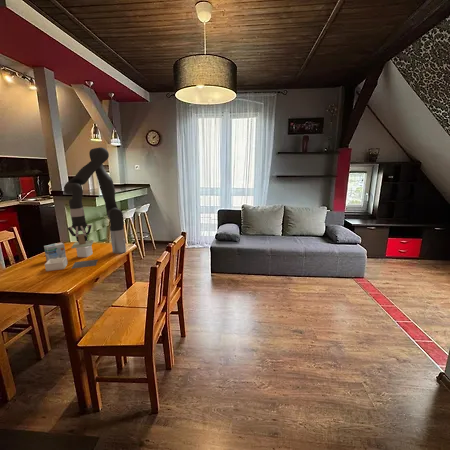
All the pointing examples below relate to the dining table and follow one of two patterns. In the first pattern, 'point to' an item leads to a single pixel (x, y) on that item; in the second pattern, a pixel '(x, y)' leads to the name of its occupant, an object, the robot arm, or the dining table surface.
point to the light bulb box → (55, 251)
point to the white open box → (56, 264)
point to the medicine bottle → (84, 251)
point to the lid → (82, 242)
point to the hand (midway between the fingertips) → (82, 241)
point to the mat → (84, 264)
